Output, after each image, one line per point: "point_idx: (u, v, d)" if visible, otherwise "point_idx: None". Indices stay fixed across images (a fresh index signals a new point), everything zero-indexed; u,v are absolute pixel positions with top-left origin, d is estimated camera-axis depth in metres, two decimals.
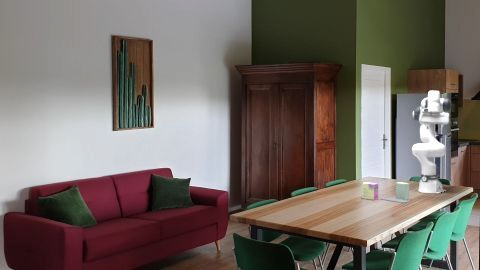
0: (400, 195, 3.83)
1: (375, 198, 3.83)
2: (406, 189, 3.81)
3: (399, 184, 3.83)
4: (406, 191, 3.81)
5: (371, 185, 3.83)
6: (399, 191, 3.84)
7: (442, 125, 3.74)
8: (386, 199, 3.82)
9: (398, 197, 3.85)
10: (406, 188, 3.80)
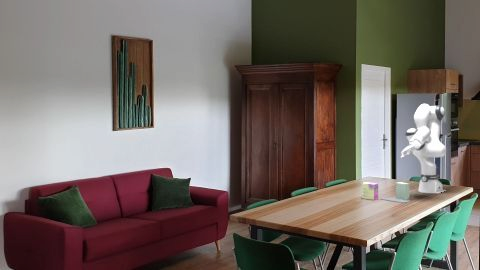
0: (400, 195, 3.83)
1: (375, 198, 3.83)
2: (406, 189, 3.81)
3: (399, 184, 3.83)
4: (406, 191, 3.81)
5: (371, 185, 3.83)
6: (399, 191, 3.84)
7: (404, 155, 3.91)
8: (386, 199, 3.82)
9: (398, 197, 3.85)
10: (406, 188, 3.80)
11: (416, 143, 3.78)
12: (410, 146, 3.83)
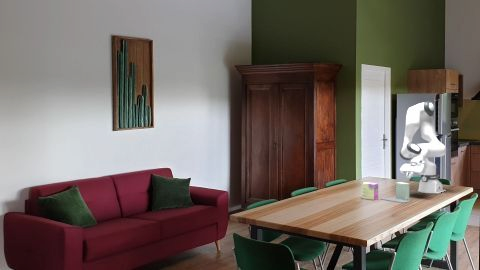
0: (400, 195, 3.83)
1: (375, 198, 3.83)
2: (406, 189, 3.81)
3: (399, 184, 3.83)
4: (406, 191, 3.81)
5: (371, 185, 3.83)
6: (399, 191, 3.84)
7: None
8: (386, 199, 3.82)
9: (398, 197, 3.85)
10: (406, 188, 3.80)
11: (423, 168, 3.84)
12: (415, 169, 3.87)
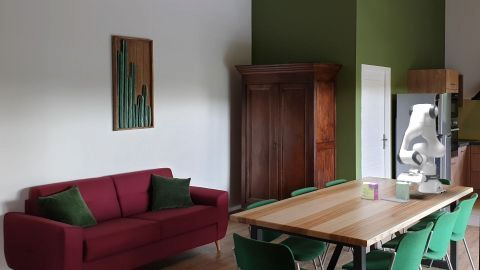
0: (400, 195, 3.83)
1: (375, 198, 3.83)
2: (406, 189, 3.81)
3: (399, 184, 3.83)
4: (406, 191, 3.80)
5: (371, 185, 3.83)
6: (399, 191, 3.83)
7: None
8: (386, 199, 3.82)
9: (397, 197, 3.85)
10: (405, 188, 3.80)
11: (422, 178, 3.80)
12: (413, 179, 3.84)
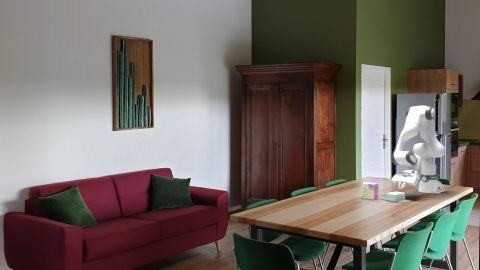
0: None
1: (375, 198, 3.83)
2: (398, 197, 3.75)
3: None
4: (399, 198, 3.76)
5: (371, 185, 3.83)
6: None
7: (400, 185, 3.85)
8: None
9: None
10: (397, 199, 3.75)
11: (416, 179, 3.77)
12: (408, 179, 3.81)
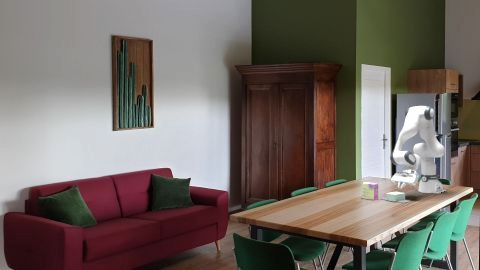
0: None
1: (375, 198, 3.83)
2: (398, 197, 3.75)
3: None
4: (399, 198, 3.76)
5: (371, 185, 3.83)
6: None
7: None
8: None
9: None
10: (397, 199, 3.75)
11: (415, 179, 3.77)
12: (407, 179, 3.81)
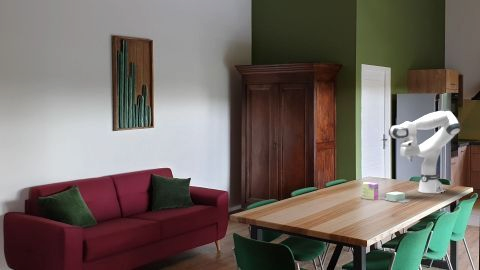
0: None
1: (375, 198, 3.83)
2: (398, 197, 3.75)
3: None
4: (399, 198, 3.76)
5: (371, 185, 3.83)
6: None
7: (412, 157, 3.87)
8: None
9: None
10: (397, 199, 3.75)
11: (401, 150, 3.82)
12: None
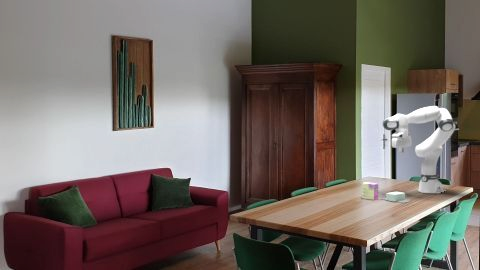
0: None
1: (375, 198, 3.83)
2: (398, 197, 3.75)
3: None
4: (399, 198, 3.76)
5: (371, 185, 3.83)
6: None
7: (404, 149, 3.95)
8: None
9: None
10: (397, 199, 3.75)
11: (392, 141, 3.90)
12: None
